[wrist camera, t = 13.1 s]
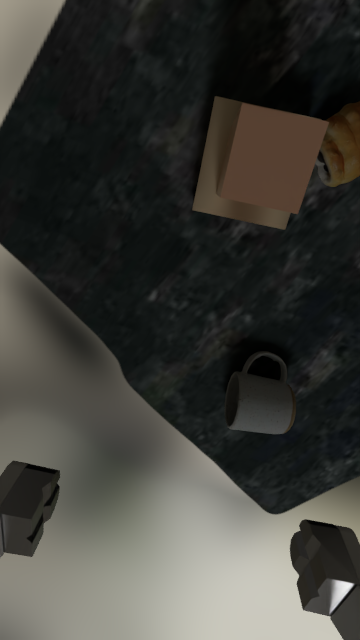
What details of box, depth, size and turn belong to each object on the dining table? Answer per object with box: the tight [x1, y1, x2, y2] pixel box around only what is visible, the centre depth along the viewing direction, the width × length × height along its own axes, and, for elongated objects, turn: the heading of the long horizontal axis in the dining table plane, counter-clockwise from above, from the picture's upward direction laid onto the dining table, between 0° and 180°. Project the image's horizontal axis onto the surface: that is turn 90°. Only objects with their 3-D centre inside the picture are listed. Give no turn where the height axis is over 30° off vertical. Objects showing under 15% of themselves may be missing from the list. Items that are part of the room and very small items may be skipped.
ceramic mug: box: [225, 351, 296, 434], centre depth 41 cm, size 11×8×8 cm
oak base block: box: [192, 96, 321, 230], centre depth 31 cm, size 10×10×4 cm
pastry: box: [315, 101, 360, 187], centre depth 30 cm, size 9×7×4 cm
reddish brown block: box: [216, 103, 329, 214], centre depth 26 cm, size 6×6×9 cm
